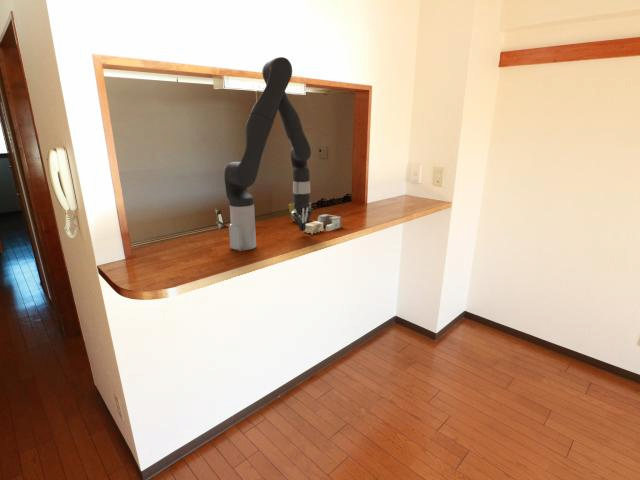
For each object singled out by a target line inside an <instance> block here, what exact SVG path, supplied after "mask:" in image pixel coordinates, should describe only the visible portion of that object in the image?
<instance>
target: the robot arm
mask: <svg viewBox="0 0 640 480" xmlns="http://www.w3.org/2000/svg"><path fill="white" fill-rule="evenodd" d="M261 73H262V77H263V80H264V83H265V84H266V85H265V87H264V89H263V91H262V93H261V94H260V96H259V97H258V99H257V100H256V101H255V103H254V104H253V107H252V108H251V110H250V113H249V115H248V118H247V120H246V124H245V143H246V145H245V149H244V153H243V156H242V158H241V161H231V162H229V163H228V164H227V165H226V167H225V168H224V186H225V193H226V197H227V200H228V202H229V204H228V205H229V215H230V224H229V225H228V230H229V231H228V232H229V234H228V235H229V245H230V249H232V250H234V251H238V252H242V251H248V250H249V251H250V250H254V249H255V248H257V237H256V218H255V202H254V201H255V200H254V199H255V198H254V197H253V195H252V194H250V193H249V191H248V188H250V187H252V186H253V184H255V182H256V180H257V177H258V173H259V170H260V169H259V168H260V164H261V160H262V156H263V153H264V151H265V147H266V144H267V141H268V138H269V136H270V134H271V131H272V128H273V124H274V123H275V119H276V116H277V113H279V116H280V118H281V122H282V125H283V128H284V131H285V134H286V137H287V138H288V140H289V141H290V144H291V146H292V147H291V150H290V159H291V166H292V171H293V172H292V181H293V183H292V203H294V204H295V206H294V210H293V212H290V211H289V214H291V215H290V217H291V216H292V217H293V219H294V220H295V221H294V220H293V219H292V220H293V221H294V222H295V223H298V229H299V231H300V232H304V231H305V229H306V224H307V221H310V218H311V216H312V215H313V211H314V208H312V206H311V207H310V205H309V203H311V183H310V182H311V181H310V180H311V179H310V178H311V177H310V176H311V175H310V169H309V167H308V160H310V158H311V156H312V150H311V146H310V144H309V141H308V138H307V137H306V136H307V135H305V132H304V129H303V125H302V122H301V118H300V117H299V114H298V112H297V110H296V108H295V107H294V106H293V104H292V102H291V101H290V99H289V98H288V95H287V92H286V89H287V87H288V85H289V84H290V81H291V79H292V75H293V67H292V64H291V61H290V60H289V58H286V57H283V56H278V57H276V58H272V59H271V60H269V61H267V62H266V63H265V64H264V65H263V67H262V71H261ZM307 215H308V216H307ZM292 217H291V218H292ZM300 218H301V220H300Z"/></svg>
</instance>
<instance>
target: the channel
mask: <svg viewBox="0 0 640 480" xmlns="http://www.w3.org/2000/svg"><path fill="white" fill-rule="evenodd" d="M342 220H343V219H342V216H339V215H332V214H327V213H324V214H321V215H317V222H322V223H323V227H324V226H325V231H326V232H330V231H334V230H337V229H340V228H342V224H343V221H342Z"/></svg>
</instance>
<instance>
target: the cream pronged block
mask: <svg viewBox="0 0 640 480" xmlns="http://www.w3.org/2000/svg"><path fill="white" fill-rule="evenodd" d="M317 221H318V220H317ZM317 221H316V220H314V221H312V222H311V221H310V222H306V229H305V231H303V233H304V232H306V233H305V234H308V233H311V234H310V235H314V234H313V233H315V234H318V233H320V231H321V232H324V226H323V223H322V222H317ZM317 232H318V233H317Z"/></svg>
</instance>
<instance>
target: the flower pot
mask: <svg viewBox="0 0 640 480" xmlns="http://www.w3.org/2000/svg"><path fill="white" fill-rule="evenodd" d="M309 205H310V207H311V208H312V202H310V203H309ZM294 206H295V204H294V202H292V203H290V204H288V209H289V214H290V212H293V210H294ZM289 216H290V217H291V219H292V220H293V222H295V220H294V219H293V217H292V216H291V214H290V215H289ZM307 216H308V215H307ZM300 220H301V218H300Z"/></svg>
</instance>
